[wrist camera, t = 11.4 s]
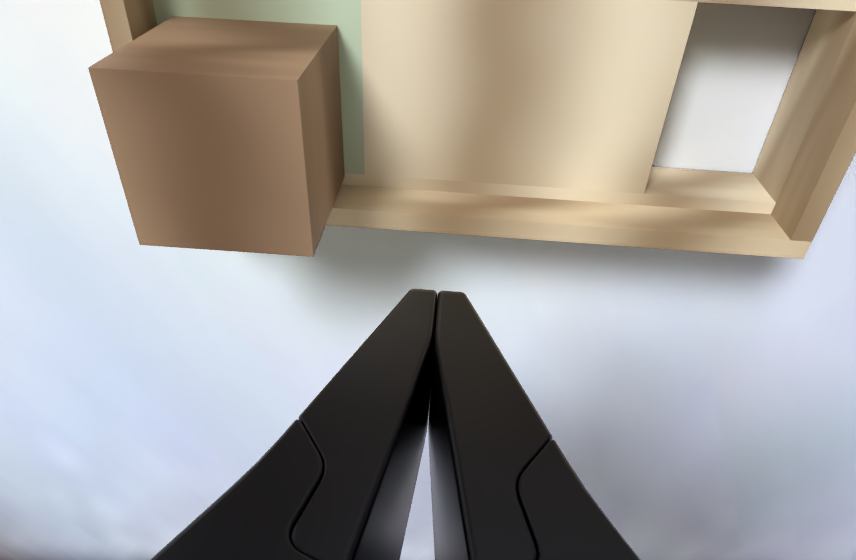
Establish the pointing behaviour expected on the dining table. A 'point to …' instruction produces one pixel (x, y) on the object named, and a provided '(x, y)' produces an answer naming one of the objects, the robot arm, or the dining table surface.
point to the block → (226, 132)
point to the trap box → (556, 120)
